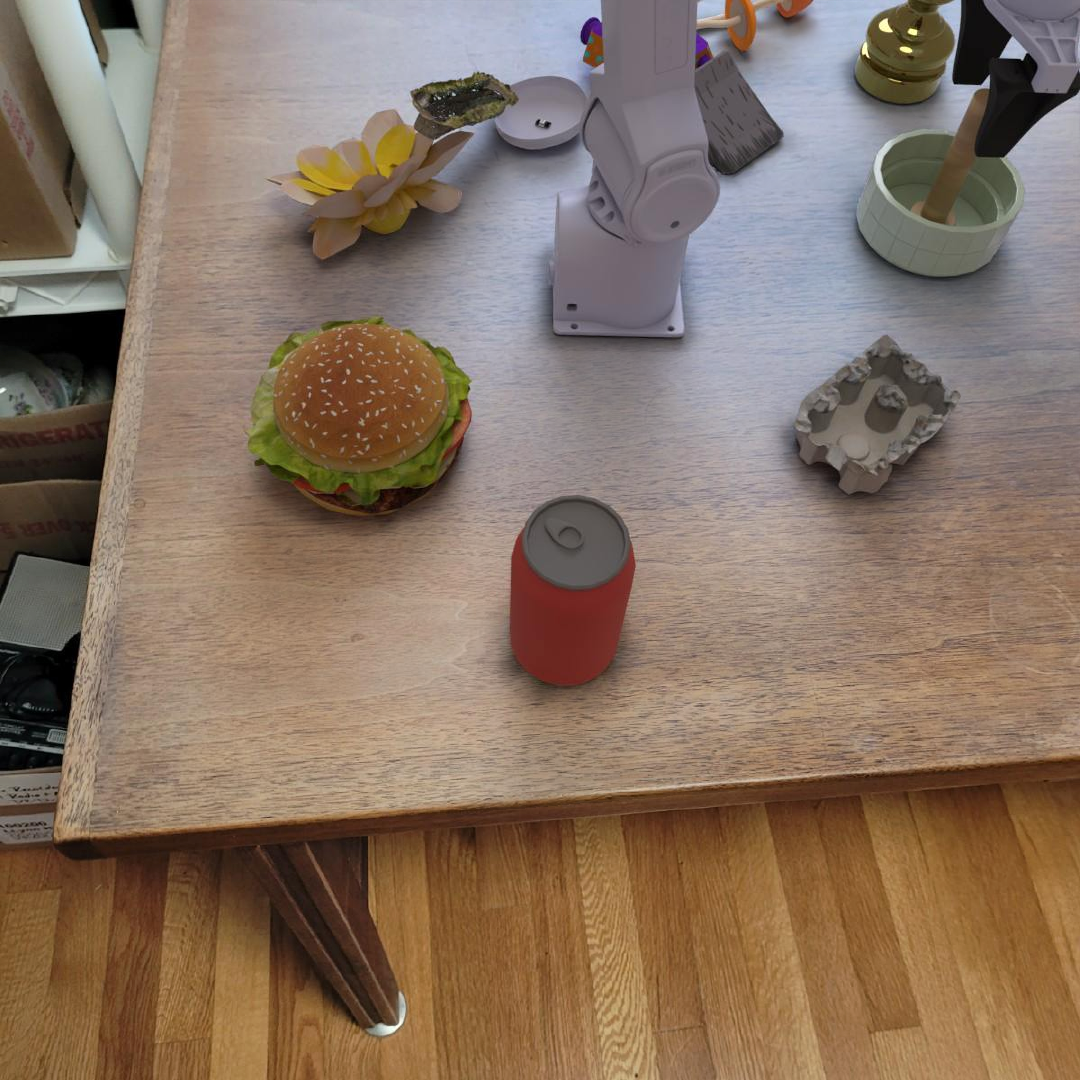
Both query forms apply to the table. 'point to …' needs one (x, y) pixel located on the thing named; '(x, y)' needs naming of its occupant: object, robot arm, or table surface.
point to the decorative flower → (371, 181)
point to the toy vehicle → (714, 103)
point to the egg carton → (872, 415)
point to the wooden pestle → (954, 166)
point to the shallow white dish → (542, 113)
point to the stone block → (459, 103)
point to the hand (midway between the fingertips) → (977, 117)
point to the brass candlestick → (905, 52)
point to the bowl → (908, 179)
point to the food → (360, 416)
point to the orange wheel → (748, 18)
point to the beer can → (570, 589)
